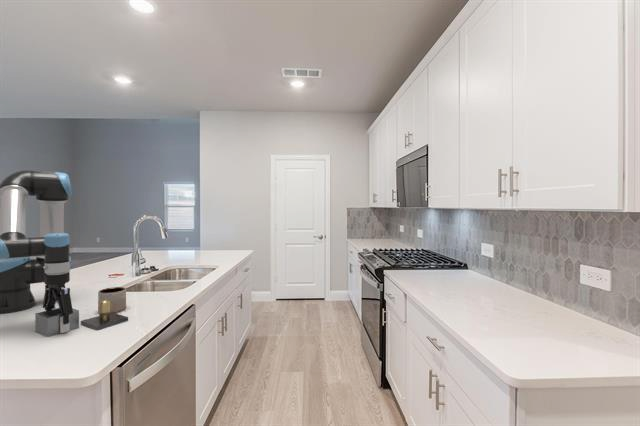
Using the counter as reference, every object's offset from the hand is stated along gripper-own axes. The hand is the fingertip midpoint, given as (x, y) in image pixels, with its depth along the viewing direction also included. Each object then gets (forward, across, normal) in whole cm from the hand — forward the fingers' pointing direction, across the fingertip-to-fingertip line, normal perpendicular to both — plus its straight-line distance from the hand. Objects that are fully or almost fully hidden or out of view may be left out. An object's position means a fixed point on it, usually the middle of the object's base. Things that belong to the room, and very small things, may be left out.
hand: (57, 329), depth 122 cm
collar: (0, 0, 0) cm, 0 cm away
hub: (0, +8, +13) cm, 15 cm away
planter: (0, -5, +23) cm, 24 cm away
